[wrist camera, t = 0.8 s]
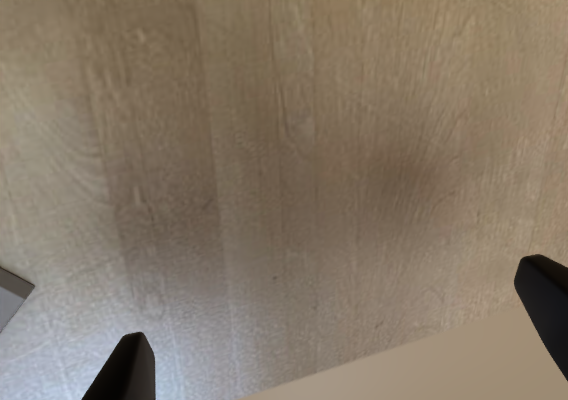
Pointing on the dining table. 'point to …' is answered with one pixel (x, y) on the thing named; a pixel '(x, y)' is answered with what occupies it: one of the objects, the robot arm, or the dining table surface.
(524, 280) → the robot arm
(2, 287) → the coffee maker
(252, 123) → the dining table surface
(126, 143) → the dining table surface
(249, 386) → the dining table surface
